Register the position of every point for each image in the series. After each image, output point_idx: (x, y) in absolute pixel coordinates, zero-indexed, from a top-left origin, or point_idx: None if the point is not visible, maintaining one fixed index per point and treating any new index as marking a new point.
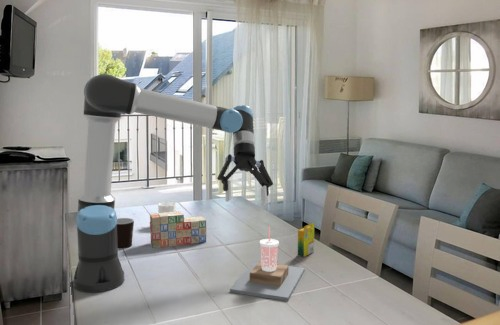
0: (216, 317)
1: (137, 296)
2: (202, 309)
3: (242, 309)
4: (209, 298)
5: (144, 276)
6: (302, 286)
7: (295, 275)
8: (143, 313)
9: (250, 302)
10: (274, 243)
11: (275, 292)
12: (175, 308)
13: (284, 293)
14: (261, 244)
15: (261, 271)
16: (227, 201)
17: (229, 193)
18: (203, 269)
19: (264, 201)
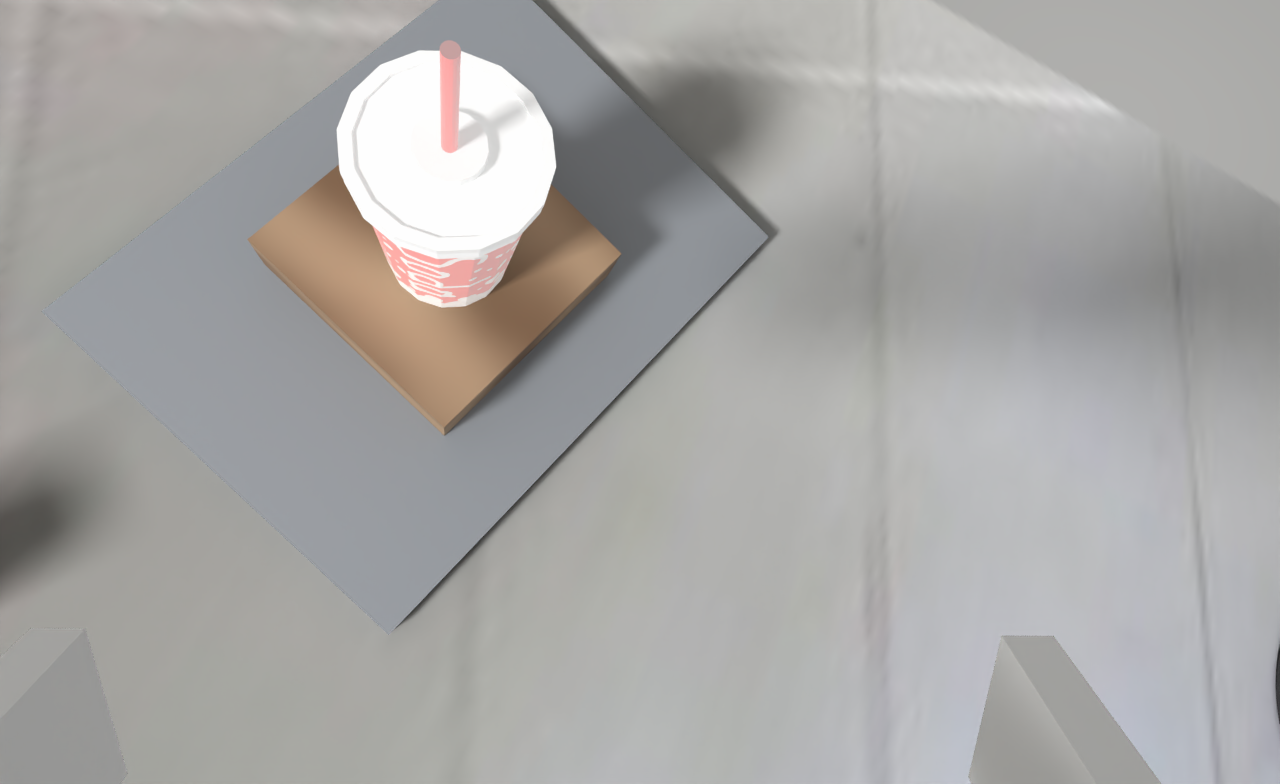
0: (916, 20)
1: (1218, 423)
2: (955, 127)
3: (772, 24)
4: (890, 224)
5: (1168, 701)
6: (270, 91)
7: (223, 219)
8: (1203, 225)
9: (701, 70)
10: (419, 88)
11: (526, 55)
12: (1069, 201)
13: (480, 16)
14: (549, 154)
15: (528, 233)
16: (976, 775)
17: (1109, 729)
18: (800, 679)
19: (56, 712)
